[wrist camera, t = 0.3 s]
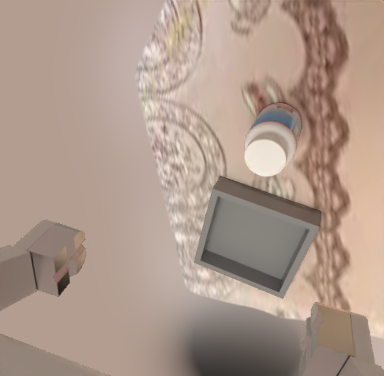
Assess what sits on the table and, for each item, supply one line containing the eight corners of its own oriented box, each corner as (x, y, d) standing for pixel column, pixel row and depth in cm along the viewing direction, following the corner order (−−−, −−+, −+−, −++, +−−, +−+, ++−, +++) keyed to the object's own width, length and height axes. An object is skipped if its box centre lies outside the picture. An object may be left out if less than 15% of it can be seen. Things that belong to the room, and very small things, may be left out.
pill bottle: (248, 122, 49) (226, 155, 40) (281, 92, 45) (265, 121, 36) (277, 152, 50) (263, 191, 41) (312, 125, 46) (304, 161, 37)
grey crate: (220, 176, 55) (212, 188, 52) (321, 211, 52) (319, 227, 49) (201, 247, 64) (193, 262, 61) (286, 281, 61) (283, 298, 58)
